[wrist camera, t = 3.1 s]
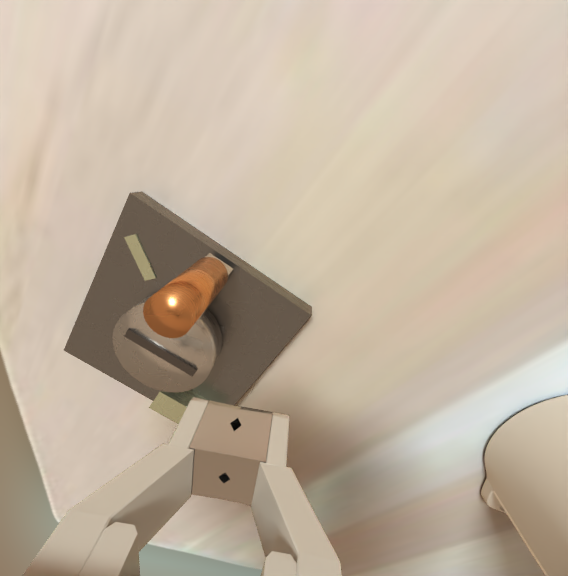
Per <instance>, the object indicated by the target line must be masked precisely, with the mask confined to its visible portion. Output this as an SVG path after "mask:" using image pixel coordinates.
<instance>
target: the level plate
mask: <svg viewBox="0 0 568 576" xmlns="http://www.w3.org/2000/svg"><path fill="white" fill-rule="evenodd" d="M209 253H211V254H212V255H214V256H215V257H217V258H218V259H220V260H221V261H223V262H224V263H226V264H227V265H229V266H230V267H232V268H233V270H232V272H231V273H230V275H229V277H228V280H227V283H226V284H225V286H224V287H223V288H222V289H221V291H220V292H219V293H218V295H217V296H216V297H215V298H214V300H213V301H212V303H211V304H210V306H209V307H208V310H209V311H210V312H211V313H212V314H213V316H214V317H215V319H216V320H217V322H218V324H219V327H220V329H221V333H222V348H221V352H220V354H219V356H218V358H217V360H216V362H215V364H214V366H213V368H212V370H211V372H210V373H209V375H208V377H207V378H206V380H205V381H204V382H203V383H202V384H200V385H199V386H197V387H196V388H194V389H191V390H188V391H185V392H164V391H160V390H156V389H153V388H151V387H148V386H146V385H144V384H142V383H141V382H139V381H138V380H136V379H135V378H134V377H132V376H131V375H130V374H129V373H128V372H127V371H126V370H125V368H124V367H123V366H122V365H121V363H120V362H119V360H118V358H117V356H116V353H115V351H114V347H113V331H114V328H115V325H116V323H117V321H118V320H119V319H120V318H121V316H122V315H124V314H125V313H126V312H128V311H129V310H130V309H132V308H133V307H134V306H136V305H137V304H138V303H140V302H141V301H142V300H144V299H145V298H147V297H148V296H150V295H153V294H155V293H156V292H158V291H159V290H160V289H161V288H163V287H164V286H165V285H167V284H168V283H169V282H171V281H172V280H173V279H174V278H176V277H177V276H178V275H180V274H181V273H182V272H184V271H185V270H186V269H188V268H189V267H190V266H191V265H193V264H194V263H195V262H197V261H198V260H199V259H201V258H204V257H205V256H207V255H208V254H209ZM311 312H312V307H311V306H310V305H308V304H307V303H305V302H304V301H302V300H301V299H299V298H298V297H296V296H295V295H293V294H292V293H290V292H289V291H287V290H286V289H285V288H283V287H282V286H280V285H279V284H277V283H276V282H274V281H273V280H271V279H270V278H268V277H267V276H265V275H264V274H262V273H261V272H260V271H258V270H257V269H255V268H254V267H252V266H251V265H249V264H248V263H246V262H245V261H243V260H242V259H240V258H239V257H237V256H236V255H234V254H233V253H232V252H230V251H229V250H227V249H226V248H224V247H223V246H221V245H220V244H218V243H217V242H215V241H214V240H212V239H211V238H209V237H208V236H206V235H205V234H204V233H202V232H201V231H199V230H198V229H196V228H195V227H193V226H192V225H190V224H189V223H187V222H186V221H184V220H183V219H181V218H180V217H178V216H177V215H176V214H174V213H173V212H171V211H170V210H168V209H167V208H165V207H164V206H162V205H161V204H159V203H158V202H156V201H155V200H153V199H152V198H150V197H149V196H148V195H146V194H145V193H143V192H134V193H130V194H129V196H128V199H127V201H126V203H125V206H124V208H123V210H122V213H121V215H120V218H119V220H118V222H117V225H116V227H115V230H114V232H113V234H112V237H111V239H110V241H109V244H108V246H107V249H106V251H105V253H104V256H103V258H102V260H101V263H100V265H99V268H98V270H97V272H96V275H95V277H94V280H93V282H92V284H91V287H90V289H89V291H88V294H87V296H86V299H85V301H84V303H83V306H82V308H81V310H80V313H79V315H78V318H77V320H76V322H75V325H74V327H73V330H72V332H71V334H70V337H69V339H68V341H67V344H66V346H65V349H64V351H66V352H68V353H70V354H71V355H73V356H75V357H77V358H78V359H80V360H82V361H84V362H85V363H87V364H89V365H91V366H93V367H94V368H96V369H98V370H100V371H101V372H103V373H105V374H107V375H108V376H110V377H112V378H114V379H116V380H117V381H119V382H121V383H123V384H124V385H126V386H128V387H130V388H131V389H133V390H135V391H137V392H139V393H140V394H142V395H144V396H146V397H147V398H149V399H151V400H153V402H152V404H151V405H150V407H149V408H151V409H152V410H154V411H156V412H158V413H160V414H161V415H163V416H165V417H167V418H168V419H170V420H172V421H174V422H176V423H177V424H179V422H180V420H181V418H182V416H183V414H184V412H185V410H186V408H187V406H188V404H189V402H190V401H191V400H192V398H193V397H195V398H200V399H205V400H209V401H210V400H211V401H215V402H220V403H225V404H229V405H235V404H236V403H237V402H238V401H239V399H240V398H241V397H242V396H243V395H244V394H245V392H246V391H247V390H248V389H249V388H250V387H251V385H252V384H253V383H254V382H255V381H256V380H257V378H258V377H259V376H260V375H261V374H262V373H263V371H264V370H265V369H266V368H267V367H268V366H269V364H270V363H271V362H272V361H273V360H274V358H275V357H276V356H277V355H278V354H279V353H280V351H281V350H282V349H283V348H284V347H285V346H286V344H287V343H288V342H289V341H290V340H291V339H292V337H293V336H294V335H295V334H296V333H297V332H298V330H299V329H300V328H301V327H302V326H303V325H304V323H305V322H306V321H307V320H308V319H309V318H310V316H311Z"/></svg>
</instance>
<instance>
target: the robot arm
mask: <svg viewBox="0 0 568 576" xmlns="http://www.w3.org/2000/svg"><path fill="white" fill-rule="evenodd" d="M289 419H290V418H289V415H285V414H279V413H274V412H273V413H272V412H269V411H263V410H258V409H252V408H246V407H239V406H234V405H229V404H225V403H220V402H215V401H211V400H210V401H209V400H205V399H200V398H195V397H193V398H192V400H191V401H190V402H189V404H188V406H187V408H186V410H185V412H184V414H183V416H182V418H181V420H180V422H179V424H178V426H177V428H176V430H175V432H174V434H173V436H172V438H171V440H170V442H169V444H162V445H160V446H159V447H158V448H156V449H155V450H153V451H152V452H150V453H149V454H148V455H146V456H145V457H143V458H142V459H141V460H139V461H138V462H136V463H135V464H133V465H132V466H131V467H129V468H128V469H126V470H125V471H123V472H122V473H121V474H119V475H118V476H116V477H115V478H114V479H112V480H111V481H109V482H108V483H106V484H105V485H104V486H102V487H101V488H99V489H98V490H96V491H95V492H94V493H92V494H91V495H89V496H88V497H86V498H85V499H84V500H82V501H81V502H79V503H78V504H77V505H75V506H74V507H72V508H71V509H69V510H68V512H67V513H66V514H65V516H64V517H63V519H62V520H61V521H60V523H59V524H58V526H57V527H56V529H55V530H54V532H53V533H52V535H51V536H50V537H49V538H48V540H47V542H46V543H45V544H44V546H43V547H42V549H41V550H40V551H39V553H38V554H37V556H36V557H35V558H34V560H33V561H32V563H31V564H30V566H29V567H28V568H27V570H26V571H25V573H24V574H23V575H22V576H140V566H139V551H140V550H141V549H142V548H143V547H144V546H145V545H146V544H147V543H148V542H149V541H150V540H151V539H152V538H153V536H154V535H155V534H156V533H157V532H158V531H159V530H160V529H161V528H162V527H163V526H164V525H165V524H166V523H167V522H168V520H169V519H170V518H171V517H172V516H173V515H174V514H175V513H176V512H177V511H178V510H179V509H180V508H181V507H182V505H183V504H184V503H185V502H186V501H187V500H188V499H189V498H190V497H191V494H193V495H199V496H205V497H212V498H218V499H224V500H228V501H233V502H237V503H242V504H246V505H251V509H252V513H253V516H254V519H255V523H256V526H257V530H258V533H259V536H260V540H261V543H262V547H263V550H264V553H265V557H266V559H265V562H264V566H263V570H262V573H261V576H342V574H341V563H340V560H339V559H338V557H337V555H336V553H335V551H334V549H333V547H332V545H331V543H330V541H329V539H328V537H327V535H326V533H325V532H324V530H323V528H322V526H321V524H320V522H319V520H318V518H317V516H316V514H315V512H314V510H313V508H312V506H311V505H310V503H309V501H308V499H307V497H306V495H305V493H304V491H303V489H302V487H301V485H300V483H299V481H298V479H297V478H296V476H295V474H294V472H293V470H292V468H290V467H286V465H287V450H288V434H289ZM484 461H485V468H486V472H487V479H486V481H485V483H484V485H483V487H482V490H481V495H482V497H483V499H484V500H485V502H486V503H487V505H488V506H489V507H491V508H493V509H495V510H498V511H500V512H503V513H505V514H507V515H508V517H509V518H510V520H511V522H512V523H513V525H514V526H515V528H516V530H517V531H518V533H519V534H520V536H521V538H522V539H523V541H524V542H525V544H526V546H527V547H528V549H529V550H530V552H531V553H532V555H533V557H534V558H535V560H536V561H537V563H538V565H539V566H540V568H541V569H542V571H543V572H544V574H545V576H568V395H565V396H561V397H556V398H553V399H549V400H546V401H543V402H541V403H538V404H536V405H533V406H531V407H529V408H527V409H525V410H523V411H521V412H520V413H518V414H516V415H515V416H513V417H512V418H510V419H509V420H508V421H507V422H505V423H504V424H503V425H502V426H501V427H500V428H499V429H498V430H497V431H496V432H495V434H494V435H493V436H492V438H491V440H490V441H489V443H488V445H487V448H486V451H485V459H484Z"/></svg>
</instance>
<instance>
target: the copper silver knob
mask: <svg viewBox="0 0 568 576" xmlns="http://www.w3.org/2000/svg"><path fill="white" fill-rule="evenodd" d="M232 270H233V268H232V267H230V266H229V265H227V264H226V263H224V262H223V261H221V260H220V259H218V258H217V257H215V256H214V255H212V254H211V253H209V254H208V255H207V256H205V257H204V258H201V259H199V260H198V261H197V262H195V263H194V264H193V265H191V266H190V267H189V268H188V269H186V270H185V271H184V272H182V273H181V274H180V275H178V276H177V277H176V278H174V279H173V280H172V281H171V282H169V283H168V284H167V285H165V286H164V287H163V288H161V289H160V290H159V291H158V292H156V293H155V294H153V295H150V296H148V297H147V298H145V299H144V300H142V301H141V302H140V303H138V304H137V305H136V306H134V307H133V308H132V309H130V310H129V311H128V312H126V313H125V314H124V315H122V316H121V318H120V319H119V320H118V321H117V323H116V325H115V328H114V331H113V347H114V351H115V353H116V356H117V358H118V360H119V362H120V363H121V365H122V366H123V367H124V368H125V370H126V371H127V372H128V373H129V374H130V375H131V376H132V377H134V378H135V379H136V380H138V381H139V382H141V383H142V384H144V385H146V386H148V387H151V388H153V389H156V390H160V391H164V392H185V391H188V390H191V389H194V388H196V387H197V386H199V385H200V384H202V383H203V382H204V381H205V380H206V378H207V377H208V375H209V373H210V372H211V370H212V368H213V366H214V364H215V362H216V360H217V358H218V356H219V354H220V352H221V348H222V333H221V329H220V327H219V324H218V322H217V320H216V319H215V317H214V316H213V314H212V313H211V312H210V311H209V310H208V307H209V306H210V304H211V303H212V301H213V300H214V298H215V297H216V296H217V295H218V293H219V292H220V291H221V289H222V288H223V287H224V286H225V284H226V283H227V280H228V277H229V275H230V273H231V272H232Z"/></svg>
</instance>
